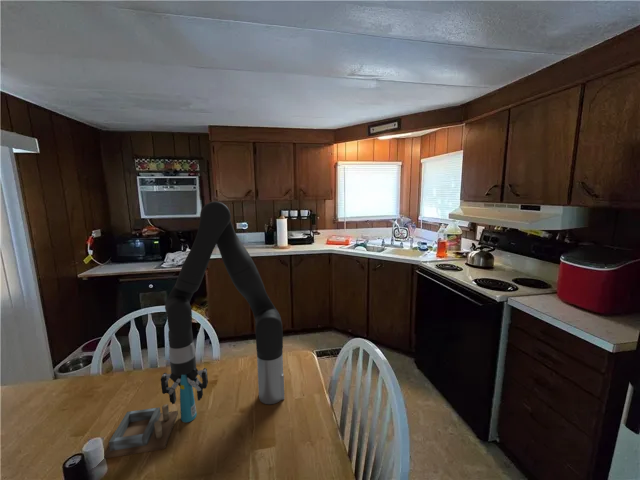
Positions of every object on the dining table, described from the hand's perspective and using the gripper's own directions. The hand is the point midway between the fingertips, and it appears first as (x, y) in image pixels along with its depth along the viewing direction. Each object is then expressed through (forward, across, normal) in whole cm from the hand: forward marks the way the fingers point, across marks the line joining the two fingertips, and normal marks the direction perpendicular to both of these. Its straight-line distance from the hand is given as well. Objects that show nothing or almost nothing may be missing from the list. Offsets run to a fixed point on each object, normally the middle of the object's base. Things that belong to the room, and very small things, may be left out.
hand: (186, 400), depth 98 cm
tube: (+7, 0, 0) cm, 7 cm away
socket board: (+6, +12, +4) cm, 14 cm away
